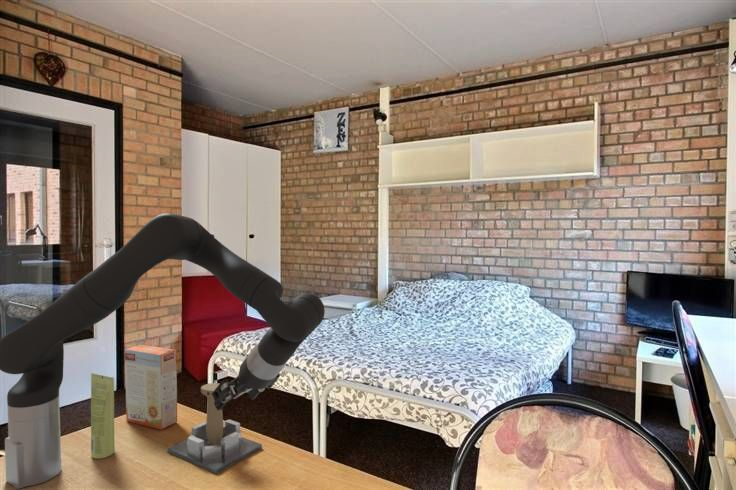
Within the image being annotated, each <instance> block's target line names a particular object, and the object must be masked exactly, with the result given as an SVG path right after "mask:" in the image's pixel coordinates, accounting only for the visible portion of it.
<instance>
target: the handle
mask: <svg viewBox="0 0 736 490" xmlns="http://www.w3.org/2000/svg"><path fill="white" fill-rule="evenodd" d="M219 384H220V382H219V383H218V382H217V383H216V382H213V383H211V382H210V383H207V384H206V383H205V384H203V385H202V386H201V387H200V393H201V394H202V395H204V396H206V399H207V400H206V401H207V403H206V431H207V439H208V446H215V445H221V439H222V437H223V425H224V417H223V416H224V415H223V408H222V409H221V410H217V409H216V407H215V405H214V402H215V400H214V398H213V396H212V393H213V391H214V390H215V389H216V388H217V387H218V385H219Z"/></svg>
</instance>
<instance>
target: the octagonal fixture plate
mask: <svg viewBox="0 0 736 490" xmlns="http://www.w3.org/2000/svg"><path fill="white" fill-rule="evenodd" d="M206 421H207V420H206ZM206 421H203V422H200V423H199V424H197V425H194V426H192V427H191V434H189V436H188V437H187V439H185V440H183V441H180V442H178V443H176V444H173V445H171V446H169V447H167V448H166V450H167V453H168V454H171V455H173V456H175V457H177V458H180V459H182V460H184V461H186V462H188V463H190V464H192V465H195V466H197V467H199V468H201V469H204V470H206V471H208V472H210V473H213V474H215V475H218V474H219V473H221V472H222V471H224V470H226V469H228V468H229V467H231V466H233V465H236V464H237V463H238V462H240V461H242V460H244V459H246V458H247V457H250V456H251V455H253V454H255V453H256V452H258V451H259V450H261V449H263V445H262V443H259V442H256V441H254V440H251V439H248V438H246V437H243V436H242V429H241V423H240V422H238V421H235V420H232V419H227V420H225V421H224V424H223V437H222V439H221V445H215V446H208V439H207V431H206Z"/></svg>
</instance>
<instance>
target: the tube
mask: <svg viewBox="0 0 736 490" xmlns="http://www.w3.org/2000/svg"><path fill="white" fill-rule="evenodd" d="M90 386H91V387H90V413H91V414H90V455H91V457H92V458H93V459H104V458H108V457H110V456H111V455H113V454H114V453H115V447H116V446H115V445H116V444H115V377H113V376H107V375H103V374H102V375H101V374H98V373H94V372H93V373H92V372H91V373H90Z"/></svg>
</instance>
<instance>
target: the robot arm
mask: <svg viewBox="0 0 736 490" xmlns="http://www.w3.org/2000/svg"><path fill="white" fill-rule="evenodd" d="M167 260H174V261H175V260H177V261H187V262H190V263H192V264H195V265H196V266H197V265H198V266H199V267H201V268H203V269H204V270H206V271H208V272H209V273H211V274H212V275H213V276H214V277H215V278H216V279H217V280H218V281H219V282H220V283H221V285H222V286H223V287H224V288H225V289H226V290H227V291H228V292H229V293H230V294H232V295H233V296H234V297H236V298H237V299H238V300H239V301H241V302H242V303H245V304H246V305H247V306H249V307H250V308H252V309H253V310H255V311H256V312H257V313H258V314H259V315H260V316H261V318H262V319H263V320H264V321H265V322H266V323H267V325H268V326H269V327H270V328H269V329H268V330H267V331H266V332H265V333H264V335H263V336H262V337H261V339H260V340H259V341H258V342H257V343H256V344H255V345H254V346H253V348H252V349H251V350H250V352H249V353H248V355H246V357H245V359H243V361H242V363H241V364H240V366H239V370H238V371H239V372H238V375H237V376H236V377H235V378H234V379H233V380H231V381H228V379H223V380H222V381H221V382H219V385H218V387H217V388H216V389H215V390H214V391H213V393H212V396H213V398H214V400H215V402H214V405H215V407H216V409H217V410H221V409H222V410H223V408H224V407H225V406H226V404H227V403H228V402H229V401H230V400H232V399H235V400H236V399H237V398H239V397H240V396H242V395H243V394H245V393H248V396H249V398H250V400H255V399H256V398H257V397H258V395H259V394H260V393H262V392H264V391H265V389H266V388H267V389H271V388H272V387H273V386H274V385H275V384H276V382H277V381H278V380H279V378H280V377H281V374H280V373H281V372H282V370H283V369H284V368H285V366H286V364H287V363H288V361H289V360H290V359H291V358H292V357H293V355H294V354H295V352H296V351H297V349H298V348H299V347H300V346H301V344H302V343H303V342H304V341H305V340H306V339H308V337H309V336H310V335H311V334H312V333H313V332H314V331H315V330H316V329H317V328H318V327H319V326H320V324H321V323H322V322H323V319H324V317H325V311H326V310H325V304H324V303H323V300H321V298H320V297H318V295H315V294H313V293H303V294H300V295H297V296H296V297H295V298H293V299H292V300H290V302H288V303H286V302H285V301H283V300H282V296H283V294H284V288H283V287H284V286H283V285H282V283H281V282H280V281H278V280H277V279H276V278H274V277H272V276H271V275H269V274H268V273H266V272H264V271H263V270H262V269H260V268H258V267H257V266H255V265H253V263H250V262H249V261H247V260H245V259H244V258H243V257H241V256H239V255H237V254H236V253H235V252H233V251H232V250H230V249H229V248H228V247H226V246H225V245H224V244H223V243H222V242H221V241H219V240H218V239H217V238H216V237H215V236H214V235H213V234H212V233H210V232H209V231H208V230H207V229H206V228H205V227H204V226H203V225H202V224H201V223H199V222H198V221H196V220H195V219H194V218H191V217H187V216H185V215H181V214H175V213H167V212H165V213H162V214H159V215H156V216H154V217H153V218H152V219H150V220H149V221H148V222H147V223H146V224H145V225H144V226H142V227H141V228H140V229H139V230H138V232H136V234H134V235H133V237H131V239H129V240H128V241H127V243H126V244H124V245H123V246H122V247H121V248H120V249H119V250H118V251H116V252H115V253H114V254H112V255H111V256H110V257H108V258H107V259H106V260H105V261H104V262H102V263H101V264H100V265H99V266H97V267H96V268H94V269H93V270H92V271H90V272H89V273H88V274H86V275H85V276H83V277H82V278H81V279H80V280H79V281H78V282H76V283H75V284H73V285H72V286H71V287H69V289H68V290H66V291H65V292H64V293H63V294H62V295H60V296H59V297H58V298H56V299H55V300H54V301H53V302H52V303H50V304H49V305H48V306H47V307H46V308H44V309H43V310H42V311H41V312H39V314H37V315H35V316H33V318H31V319H29V320H28V321H26V322H25V323H23V324H21V325H20V326H18V327H16V328H15V329H13V330H12V331H11V330H10V332H8V333H6V334H5V335H4V336H2V338H1V339H0V371H1V372H3V373H6V374H9V375H21V377H20V378H19V380H18V381H17V382H16V383H15V384H14V385H13V386H12V387H10V389H9V390H8V391H7V394H6V395H7V396H6V401H7V402H6V403H7V429H8V430H7V433H8V434H7V435H8V437H5V438H4V456H5V457H4V458H5V481H6V482H8V484H10V485H12V487H14V488H15V487H16V488H15V489H17V490H20V489H22V488H26V487H30V486H36V485H39V484H42V483H45V482H47V481H49V480H52V479H53V478H55V477H56V476H57V475H59V474H60V473H61V471H62V445H61V441H62V438H61V415H60V414H61V413H60V410H61V409H60V388H61V385H62V382H63V378H64V361H65V360H64V357H65V351H64V349H65V348H64V340H67V339H68V338H71V337H72V336H74V335H76V334H78V333H80V332H83V331H85V330H86V329H88V328H91V327H92V326H95V325H96V324H97V323H99V322H101V321H103V320H105V319H106V318H107V317H109V316H110V315H111V314H112V313H114V312H115V311H116V310H118V309H119V308H121V306H122V305H124V304H125V303H126V302H127V301H128V300H129V299H130V297H131V296H132V294H133V291H135V287H136V284H137V283H138V281H139V279H140V278H141V277H142V276H144V275H145V274H146V273H148V272H149V271H150V270H152V269H153V268H155V267H156V266H158V265H159V264H161V263H162V262H165V261H167ZM234 388H235V390H236V391H237V392H235V390H234ZM19 488H20V489H19Z"/></svg>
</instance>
